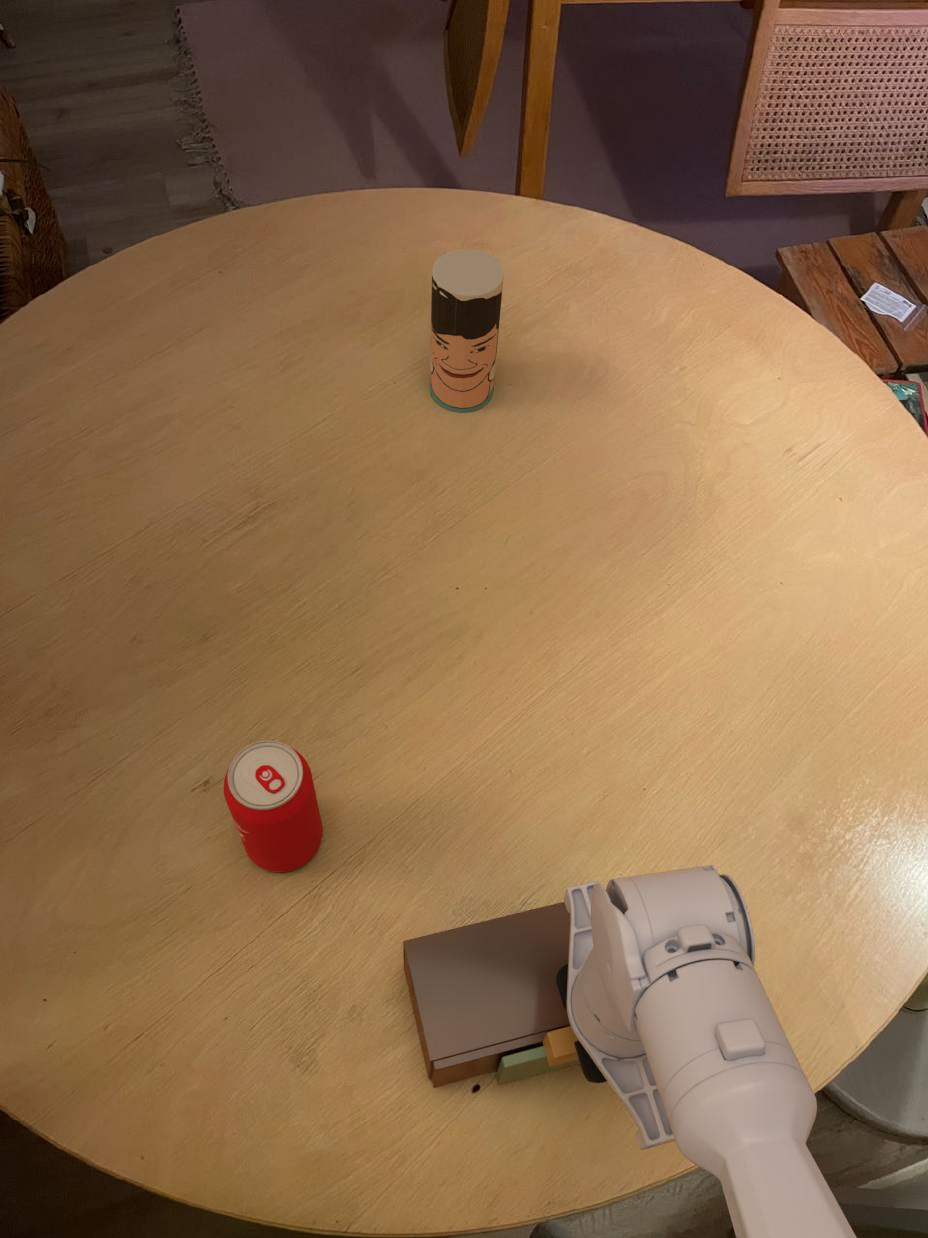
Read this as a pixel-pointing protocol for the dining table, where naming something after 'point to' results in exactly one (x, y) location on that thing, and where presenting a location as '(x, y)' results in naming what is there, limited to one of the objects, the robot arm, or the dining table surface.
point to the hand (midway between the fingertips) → (597, 1038)
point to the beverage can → (274, 805)
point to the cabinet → (487, 990)
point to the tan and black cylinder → (464, 329)
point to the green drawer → (540, 1057)
